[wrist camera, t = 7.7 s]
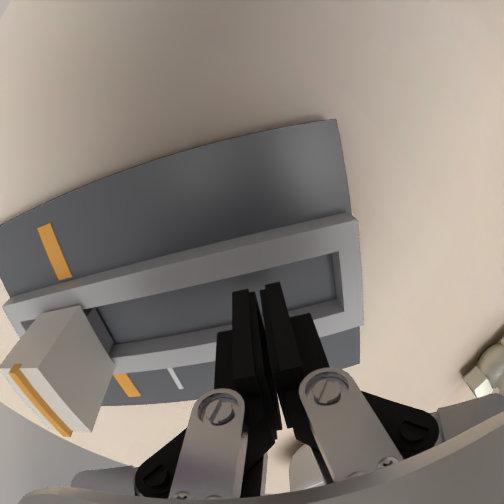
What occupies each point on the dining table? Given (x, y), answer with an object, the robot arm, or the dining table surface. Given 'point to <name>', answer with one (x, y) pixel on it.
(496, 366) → the valve
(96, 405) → the fader
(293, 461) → the teacup
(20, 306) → the console
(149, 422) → the dining table surface
